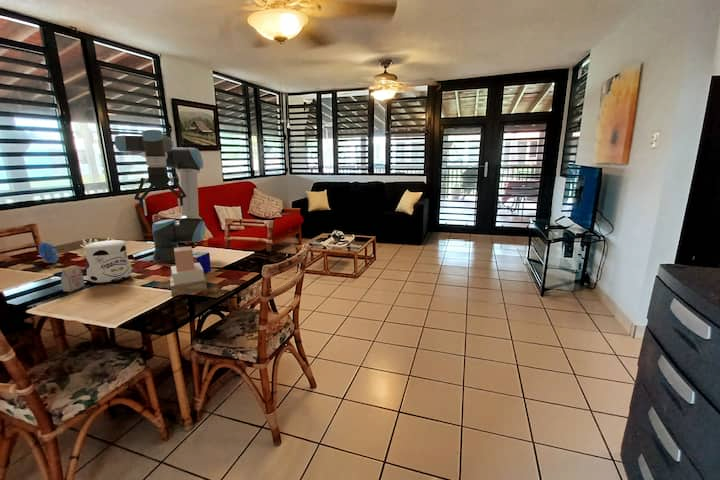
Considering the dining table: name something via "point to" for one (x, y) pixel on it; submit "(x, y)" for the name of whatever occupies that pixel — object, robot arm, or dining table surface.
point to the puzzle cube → (202, 260)
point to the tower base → (187, 287)
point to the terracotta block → (184, 258)
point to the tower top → (187, 275)
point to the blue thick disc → (48, 252)
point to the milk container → (107, 261)
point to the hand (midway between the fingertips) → (163, 214)
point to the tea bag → (72, 279)
